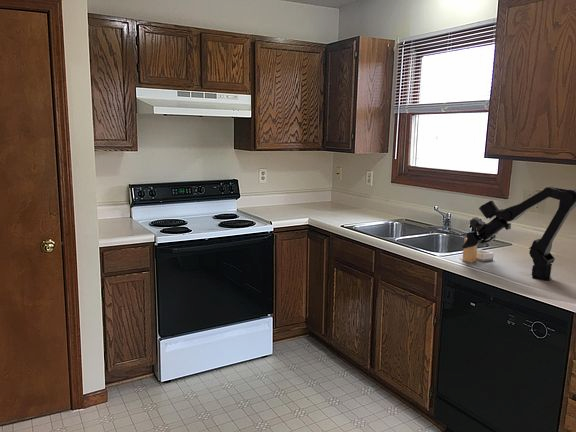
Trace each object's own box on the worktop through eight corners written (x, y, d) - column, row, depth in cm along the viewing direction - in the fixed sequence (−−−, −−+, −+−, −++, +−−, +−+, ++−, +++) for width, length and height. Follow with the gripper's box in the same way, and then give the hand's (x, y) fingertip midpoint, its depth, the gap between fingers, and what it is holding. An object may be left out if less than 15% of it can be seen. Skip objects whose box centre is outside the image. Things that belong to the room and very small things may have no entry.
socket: (492, 260, 226) (493, 252, 225) (482, 261, 222) (483, 254, 222) (480, 256, 232) (481, 249, 231) (469, 257, 229) (470, 250, 228)
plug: (475, 261, 223) (478, 234, 221) (471, 262, 220) (474, 236, 218) (466, 258, 227) (469, 233, 224) (462, 260, 224) (464, 234, 221)
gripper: (491, 210, 223) (467, 230, 233) (472, 214, 210) (447, 234, 220) (506, 230, 218) (481, 249, 228) (488, 235, 206) (461, 254, 216)
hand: (467, 246), depth 223 cm, fingers open, 9 cm apart
